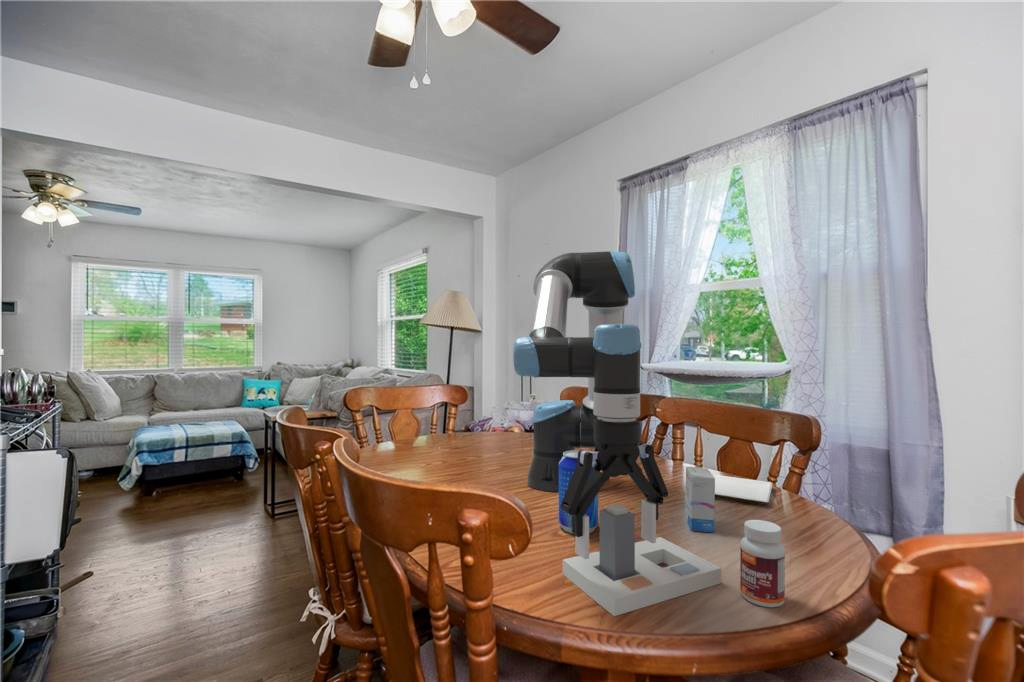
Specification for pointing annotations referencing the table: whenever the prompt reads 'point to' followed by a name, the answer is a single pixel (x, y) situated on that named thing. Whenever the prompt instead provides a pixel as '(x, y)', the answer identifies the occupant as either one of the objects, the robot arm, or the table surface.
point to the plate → (742, 489)
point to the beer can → (565, 474)
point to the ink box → (699, 499)
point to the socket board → (643, 577)
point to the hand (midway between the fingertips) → (616, 547)
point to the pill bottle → (762, 564)
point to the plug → (617, 542)
